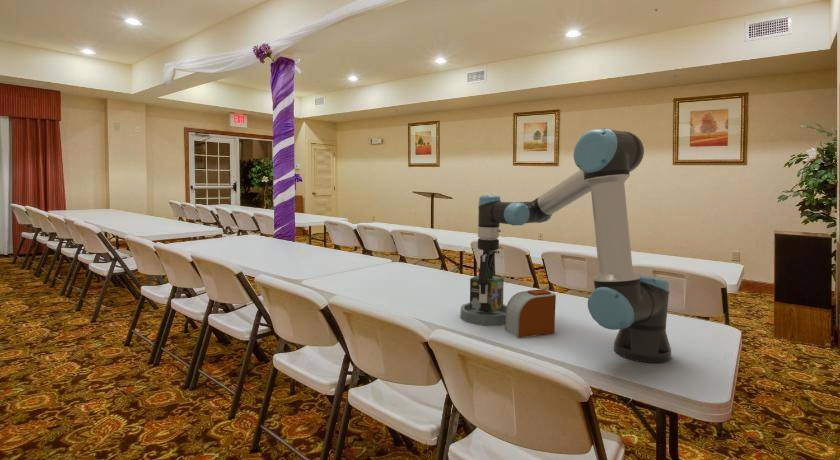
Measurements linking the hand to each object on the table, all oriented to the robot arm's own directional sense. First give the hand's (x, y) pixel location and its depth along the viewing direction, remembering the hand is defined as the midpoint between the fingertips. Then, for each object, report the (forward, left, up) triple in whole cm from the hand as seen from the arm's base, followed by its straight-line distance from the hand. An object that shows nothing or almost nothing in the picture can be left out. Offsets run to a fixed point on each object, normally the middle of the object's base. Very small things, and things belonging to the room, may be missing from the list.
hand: (486, 298), depth 168 cm
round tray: (0, 0, -7) cm, 7 cm away
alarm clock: (-10, -17, -7) cm, 21 cm away
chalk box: (0, 0, -4) cm, 4 cm away
